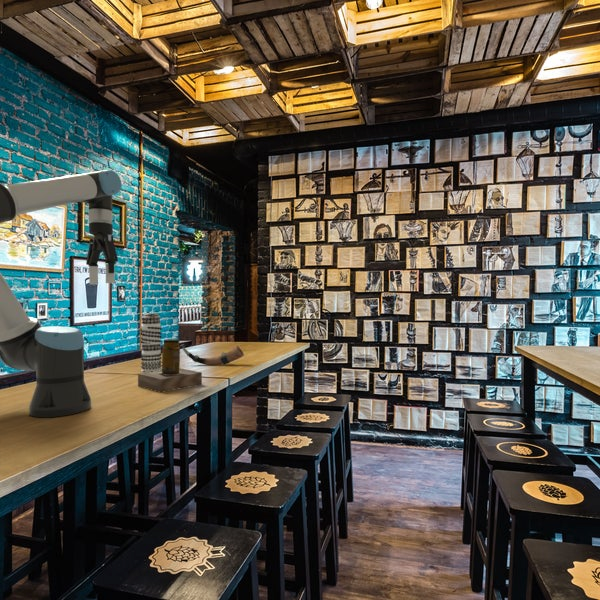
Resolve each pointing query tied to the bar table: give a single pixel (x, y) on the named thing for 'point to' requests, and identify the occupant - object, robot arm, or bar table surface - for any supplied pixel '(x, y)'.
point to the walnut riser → (169, 380)
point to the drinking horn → (222, 359)
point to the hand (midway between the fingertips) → (101, 283)
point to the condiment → (171, 357)
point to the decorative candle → (151, 342)
